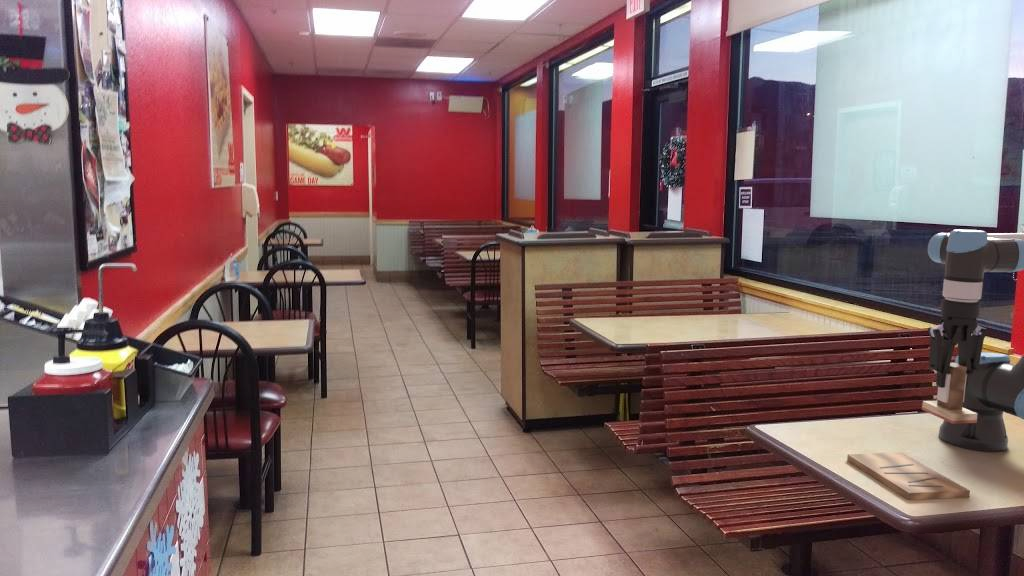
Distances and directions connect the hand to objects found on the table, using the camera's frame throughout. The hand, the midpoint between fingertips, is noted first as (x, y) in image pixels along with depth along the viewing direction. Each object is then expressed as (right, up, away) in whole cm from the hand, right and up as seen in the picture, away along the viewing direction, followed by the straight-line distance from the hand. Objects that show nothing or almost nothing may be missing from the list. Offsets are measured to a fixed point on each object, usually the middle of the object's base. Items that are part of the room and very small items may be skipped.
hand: (950, 400), depth 176 cm
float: (0, -4, +1) cm, 4 cm away
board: (-13, -17, -5) cm, 21 cm away
